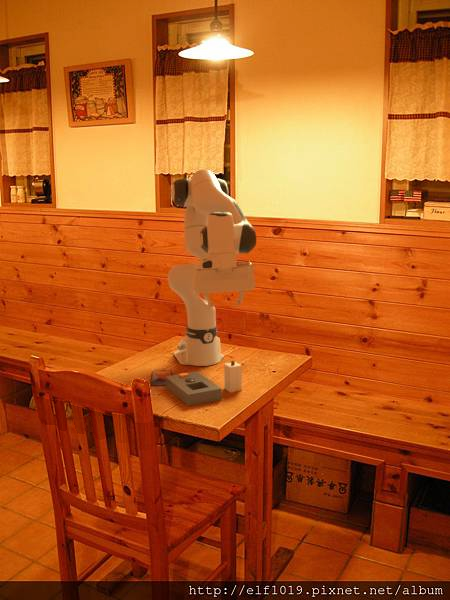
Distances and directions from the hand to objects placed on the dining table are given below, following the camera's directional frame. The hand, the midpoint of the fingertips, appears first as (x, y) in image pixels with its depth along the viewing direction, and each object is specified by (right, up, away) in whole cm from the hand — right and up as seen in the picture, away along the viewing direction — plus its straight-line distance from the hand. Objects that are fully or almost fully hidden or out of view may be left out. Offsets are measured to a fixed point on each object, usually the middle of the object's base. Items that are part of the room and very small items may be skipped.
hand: (225, 306), depth 198 cm
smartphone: (-23, -27, +30) cm, 47 cm away
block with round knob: (+3, -29, +18) cm, 34 cm away
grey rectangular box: (-11, -30, +15) cm, 35 cm away
